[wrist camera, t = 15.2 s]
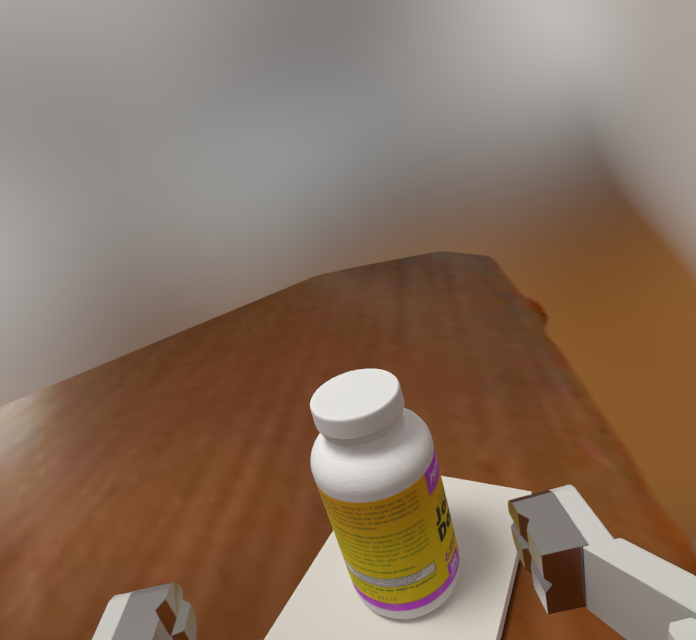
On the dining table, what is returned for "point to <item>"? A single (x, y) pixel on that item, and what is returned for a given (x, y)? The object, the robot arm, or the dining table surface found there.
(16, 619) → the dining table surface
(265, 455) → the dining table surface
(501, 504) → the off-white mat
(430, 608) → the supplement bottle
